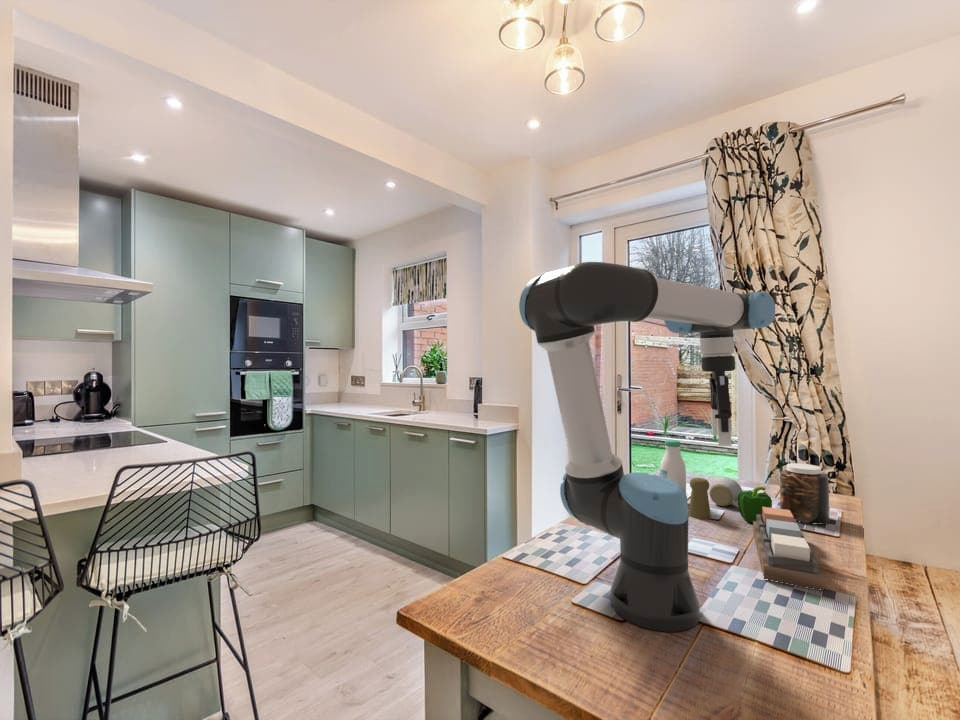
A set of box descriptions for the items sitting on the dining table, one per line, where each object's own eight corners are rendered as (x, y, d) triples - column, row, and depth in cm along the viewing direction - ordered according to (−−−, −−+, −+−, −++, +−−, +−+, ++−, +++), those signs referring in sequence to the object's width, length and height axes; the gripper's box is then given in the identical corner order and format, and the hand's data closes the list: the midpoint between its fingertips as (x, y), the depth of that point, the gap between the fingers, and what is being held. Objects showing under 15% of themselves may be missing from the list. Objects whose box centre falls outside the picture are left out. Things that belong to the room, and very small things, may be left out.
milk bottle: (687, 501, 147) (687, 440, 147) (684, 508, 140) (683, 443, 141) (662, 497, 151) (662, 438, 151) (658, 504, 144) (657, 441, 145)
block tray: (823, 591, 89) (823, 565, 89) (764, 580, 93) (763, 555, 93) (798, 538, 115) (798, 519, 115) (753, 532, 120) (752, 513, 120)
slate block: (801, 544, 100) (800, 531, 100) (769, 540, 103) (769, 526, 103) (796, 535, 106) (796, 522, 106) (766, 531, 108) (766, 518, 108)
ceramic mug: (707, 504, 144) (708, 480, 144) (717, 499, 150) (717, 475, 150) (744, 512, 136) (744, 487, 136) (753, 507, 142) (753, 482, 142)
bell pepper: (733, 521, 128) (733, 486, 129) (742, 514, 134) (742, 480, 134) (768, 528, 123) (767, 492, 123) (775, 521, 128) (775, 486, 128)
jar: (832, 528, 123) (831, 472, 123) (780, 520, 129) (780, 467, 129) (826, 515, 133) (826, 464, 133) (779, 509, 139) (778, 460, 140)
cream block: (809, 563, 91) (809, 548, 91) (774, 557, 94) (774, 543, 94) (804, 552, 96) (804, 538, 96) (771, 547, 99) (771, 533, 99)
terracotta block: (793, 529, 110) (793, 517, 110) (764, 525, 112) (764, 513, 112) (790, 521, 115) (789, 510, 115) (762, 518, 118) (762, 506, 118)
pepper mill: (706, 512, 136) (706, 476, 136) (714, 519, 130) (714, 481, 130) (685, 512, 136) (685, 475, 137) (692, 519, 130) (692, 480, 130)
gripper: (743, 356, 100) (747, 451, 101) (727, 353, 123) (731, 430, 124) (705, 357, 103) (709, 450, 104) (697, 354, 126) (701, 430, 127)
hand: (721, 439), depth 114 cm, fingers open, 13 cm apart
